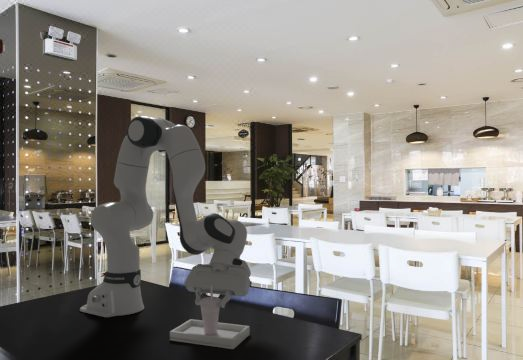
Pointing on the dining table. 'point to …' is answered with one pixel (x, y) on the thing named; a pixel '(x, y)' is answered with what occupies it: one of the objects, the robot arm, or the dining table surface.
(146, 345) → the dining table surface
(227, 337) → the tray
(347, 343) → the dining table surface
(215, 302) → the smoothie
